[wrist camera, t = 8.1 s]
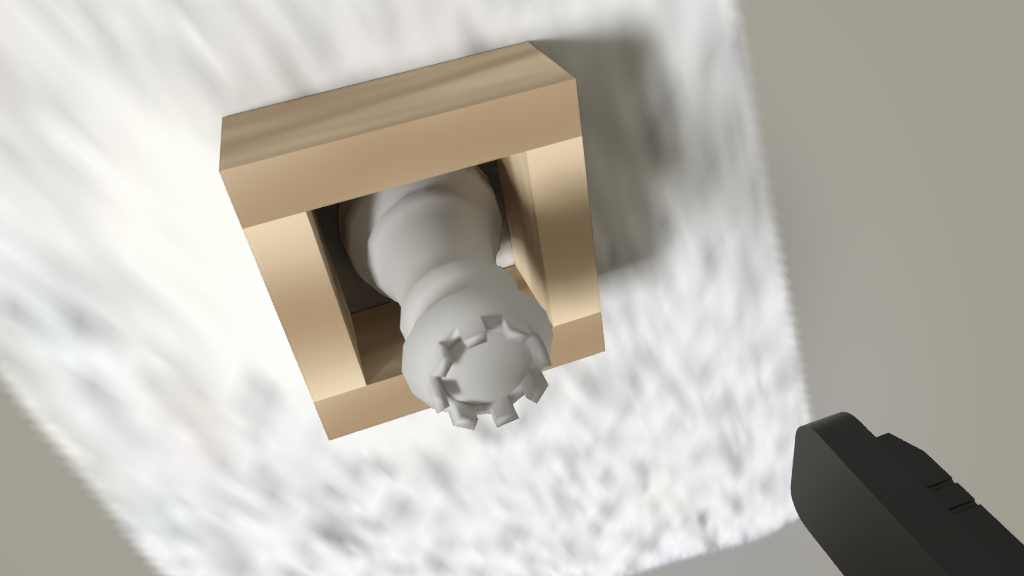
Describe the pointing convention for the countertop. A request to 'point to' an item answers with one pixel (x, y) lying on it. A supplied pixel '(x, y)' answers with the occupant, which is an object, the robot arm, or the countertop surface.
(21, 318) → the countertop surface
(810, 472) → the robot arm
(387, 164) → the socket block
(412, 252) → the rook chess piece
